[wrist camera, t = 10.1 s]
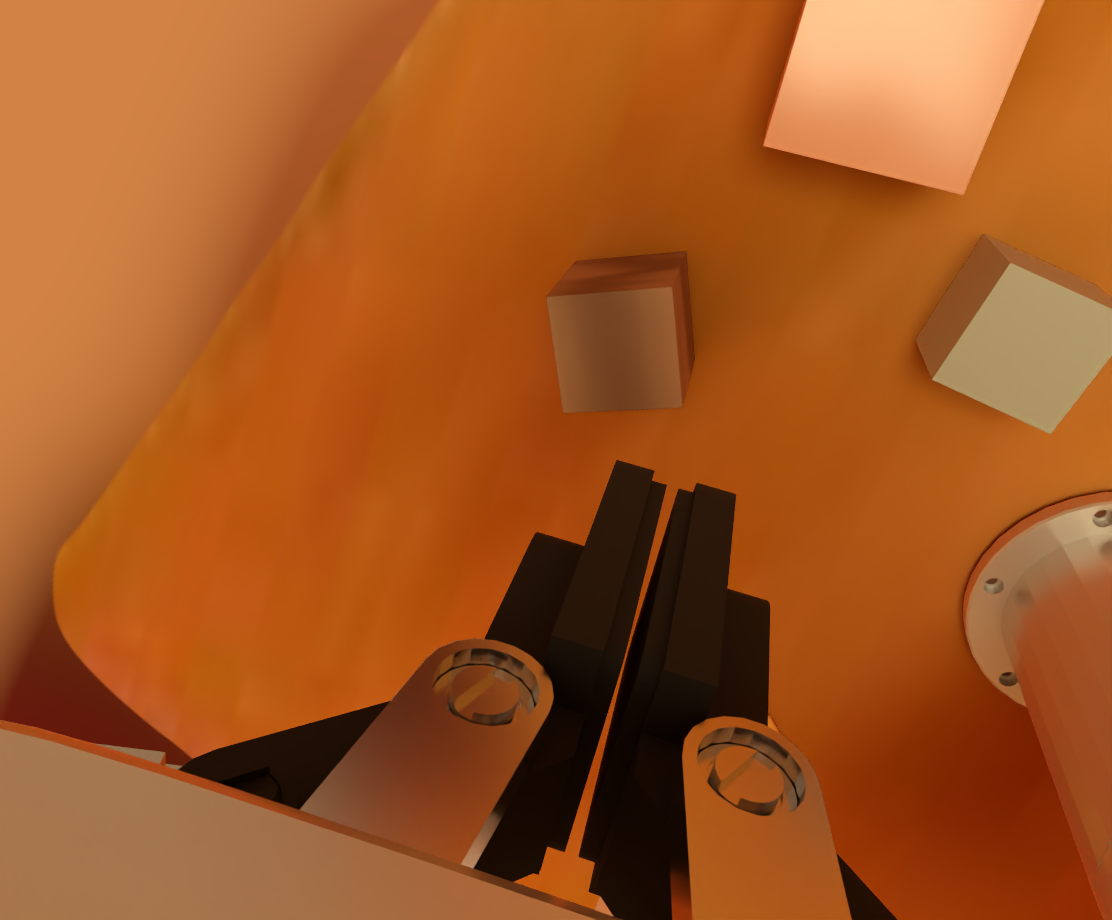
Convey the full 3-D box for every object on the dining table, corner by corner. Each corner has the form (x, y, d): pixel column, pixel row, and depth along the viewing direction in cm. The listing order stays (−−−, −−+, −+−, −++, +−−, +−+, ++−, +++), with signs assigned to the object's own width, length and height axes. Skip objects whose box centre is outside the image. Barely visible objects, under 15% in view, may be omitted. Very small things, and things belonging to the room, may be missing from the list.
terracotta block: (1014, -26, 32) (1058, -35, 27) (937, 168, 36) (963, 195, 30) (824, -68, 33) (831, -84, 28) (765, 127, 36) (763, 146, 31)
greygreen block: (1095, 284, 36) (1138, 320, 32) (1020, 387, 39) (1050, 434, 34) (983, 233, 36) (1010, 262, 32) (914, 338, 39) (932, 379, 34)
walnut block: (686, 251, 39) (672, 286, 34) (694, 358, 41) (682, 407, 36) (576, 260, 41) (546, 297, 35) (589, 364, 43) (563, 413, 37)
